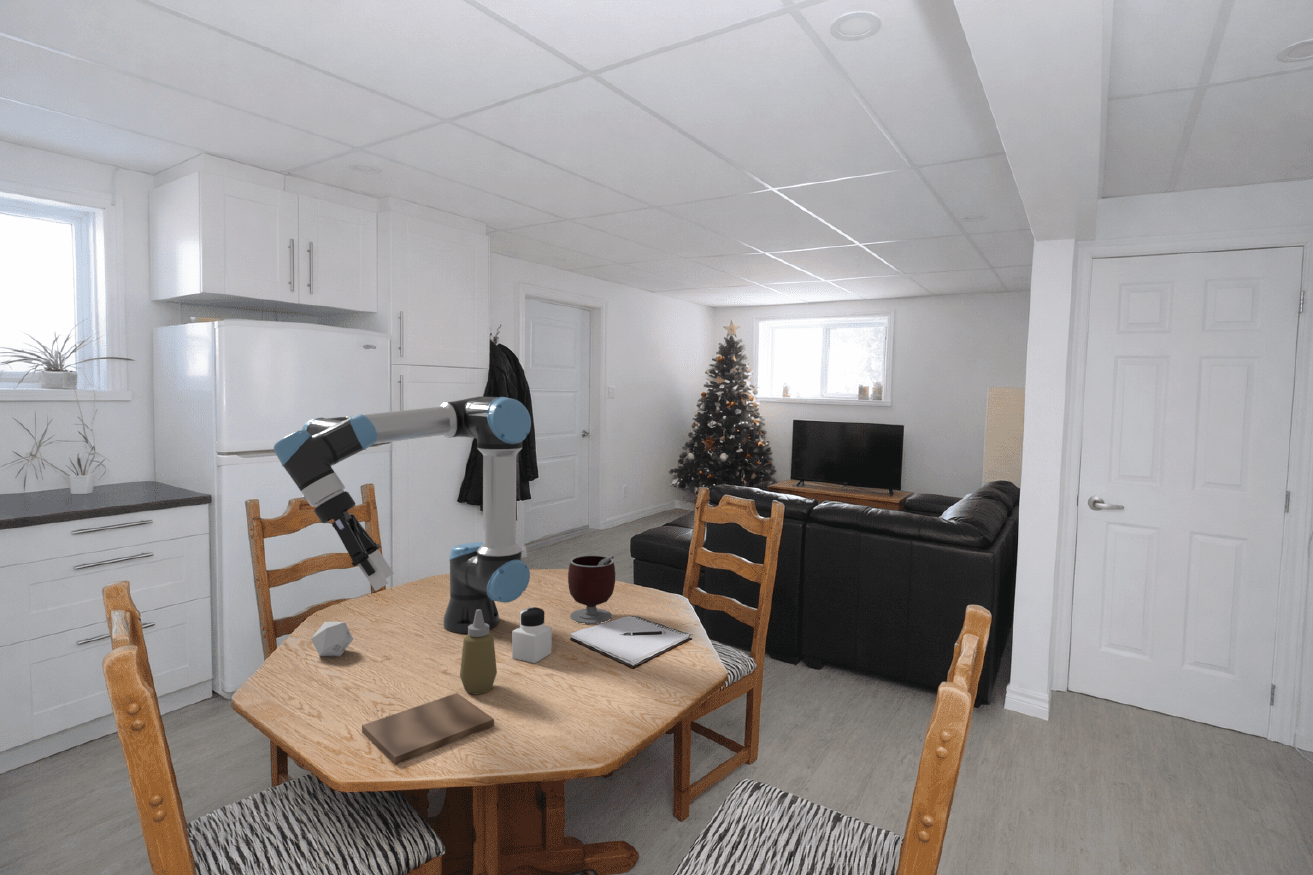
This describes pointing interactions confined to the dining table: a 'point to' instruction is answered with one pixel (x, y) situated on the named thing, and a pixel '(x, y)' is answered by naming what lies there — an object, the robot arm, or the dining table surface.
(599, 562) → the mate gourd
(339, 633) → the die
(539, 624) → the medicine bottle
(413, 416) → the robot arm
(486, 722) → the walnut board
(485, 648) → the squeeze bottle
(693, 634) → the dining table surface
